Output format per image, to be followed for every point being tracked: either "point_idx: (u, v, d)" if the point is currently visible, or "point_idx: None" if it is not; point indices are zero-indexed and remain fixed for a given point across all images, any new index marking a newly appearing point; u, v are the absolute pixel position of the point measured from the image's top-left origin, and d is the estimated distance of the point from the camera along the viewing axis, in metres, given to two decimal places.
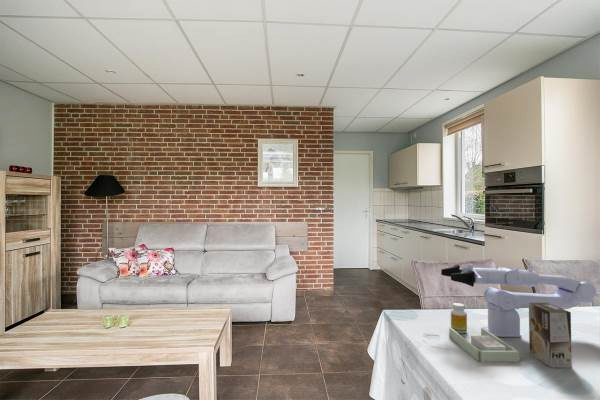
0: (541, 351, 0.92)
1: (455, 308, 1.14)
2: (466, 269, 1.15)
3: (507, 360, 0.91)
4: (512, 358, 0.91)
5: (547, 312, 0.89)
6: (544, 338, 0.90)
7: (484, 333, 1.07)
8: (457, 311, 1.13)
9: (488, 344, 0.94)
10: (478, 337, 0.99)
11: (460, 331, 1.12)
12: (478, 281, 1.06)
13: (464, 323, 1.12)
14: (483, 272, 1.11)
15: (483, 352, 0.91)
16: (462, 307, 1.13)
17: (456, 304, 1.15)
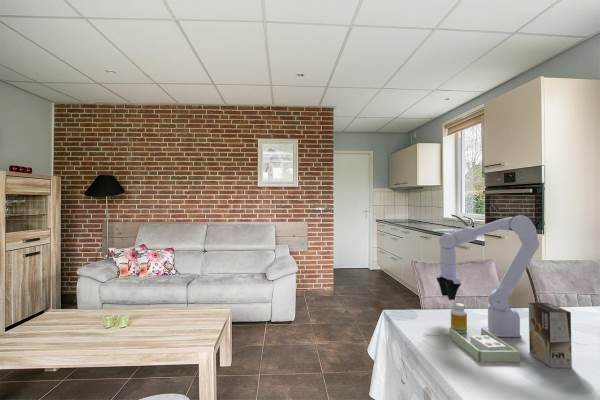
0: (541, 351, 0.92)
1: (455, 308, 1.14)
2: None
3: (507, 360, 0.91)
4: (512, 358, 0.91)
5: (547, 312, 0.89)
6: (544, 338, 0.90)
7: (484, 333, 1.07)
8: (457, 311, 1.13)
9: (489, 344, 0.94)
10: (478, 337, 0.98)
11: (460, 331, 1.12)
12: (458, 282, 1.15)
13: (464, 323, 1.12)
14: (446, 267, 1.21)
15: (483, 352, 0.91)
16: (462, 307, 1.13)
17: (456, 304, 1.15)
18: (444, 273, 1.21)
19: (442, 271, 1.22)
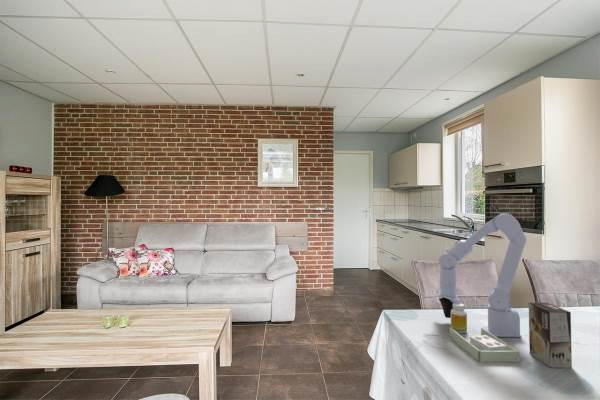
0: (541, 351, 0.92)
1: (455, 308, 1.14)
2: None
3: (507, 360, 0.91)
4: (512, 358, 0.91)
5: (547, 312, 0.89)
6: (544, 338, 0.90)
7: (484, 333, 1.07)
8: (457, 311, 1.13)
9: (490, 344, 0.94)
10: (478, 338, 0.98)
11: (460, 331, 1.12)
12: (458, 303, 1.15)
13: (464, 323, 1.12)
14: (446, 287, 1.20)
15: (483, 352, 0.91)
16: (462, 307, 1.13)
17: (456, 304, 1.15)
18: (444, 293, 1.21)
19: (442, 291, 1.22)
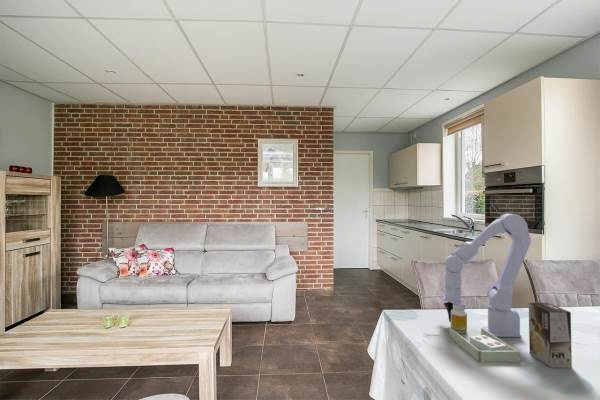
0: (541, 351, 0.92)
1: (455, 308, 1.13)
2: None
3: (507, 360, 0.91)
4: (512, 358, 0.91)
5: (547, 312, 0.89)
6: (544, 338, 0.90)
7: (484, 333, 1.07)
8: (457, 311, 1.12)
9: (492, 344, 0.94)
10: (478, 338, 0.98)
11: (460, 331, 1.12)
12: (463, 308, 1.11)
13: (464, 323, 1.12)
14: (451, 291, 1.16)
15: (483, 352, 0.91)
16: None
17: None
18: (449, 297, 1.17)
19: (447, 295, 1.18)
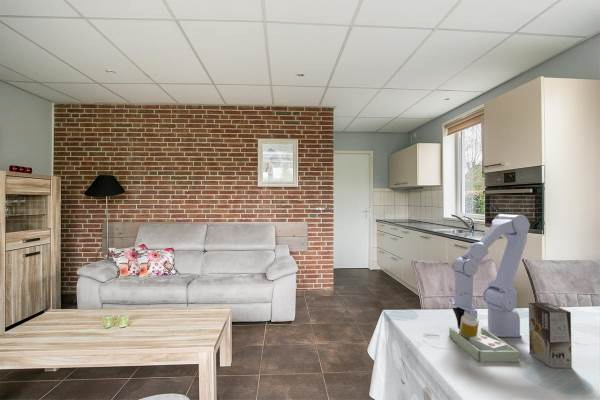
0: (541, 351, 0.92)
1: (467, 317, 1.04)
2: None
3: (507, 360, 0.91)
4: (512, 358, 0.91)
5: (547, 312, 0.89)
6: (544, 338, 0.90)
7: (484, 333, 1.07)
8: (469, 321, 1.04)
9: (493, 345, 0.93)
10: (478, 338, 0.98)
11: None
12: (475, 315, 1.03)
13: (475, 332, 1.04)
14: (461, 296, 1.08)
15: (483, 352, 0.91)
16: (475, 317, 1.03)
17: (468, 312, 1.05)
18: (459, 302, 1.08)
19: (457, 300, 1.09)
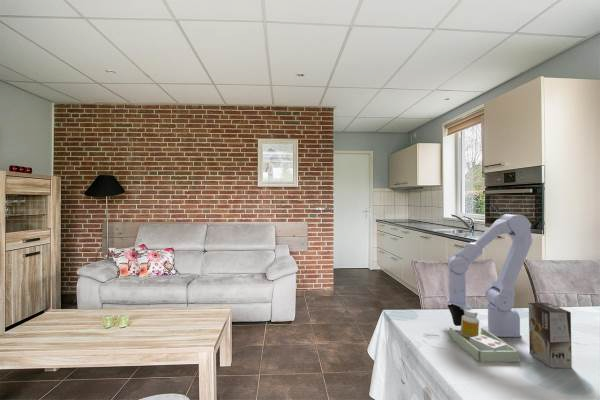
0: (541, 351, 0.92)
1: (467, 314, 1.06)
2: None
3: (507, 360, 0.91)
4: (512, 358, 0.91)
5: (547, 312, 0.89)
6: (544, 338, 0.90)
7: (484, 333, 1.07)
8: (469, 318, 1.05)
9: (493, 345, 0.93)
10: (478, 338, 0.98)
11: None
12: None
13: (476, 331, 1.04)
14: (455, 293, 1.13)
15: (483, 352, 0.91)
16: (475, 314, 1.05)
17: (468, 310, 1.07)
18: (453, 300, 1.14)
19: (451, 297, 1.15)
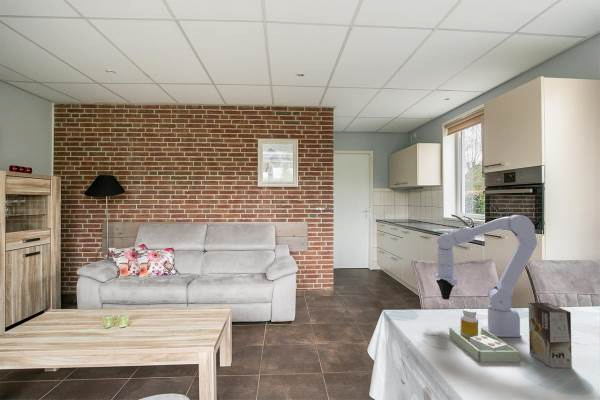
0: (541, 351, 0.92)
1: (466, 314, 1.07)
2: None
3: (507, 360, 0.91)
4: (512, 358, 0.91)
5: (547, 312, 0.89)
6: (544, 338, 0.90)
7: (484, 333, 1.07)
8: (468, 317, 1.06)
9: (493, 345, 0.93)
10: (478, 338, 0.98)
11: None
12: (455, 283, 1.13)
13: (475, 331, 1.05)
14: (443, 268, 1.19)
15: (483, 352, 0.91)
16: (473, 313, 1.06)
17: (467, 310, 1.08)
18: (441, 274, 1.19)
19: (439, 272, 1.20)
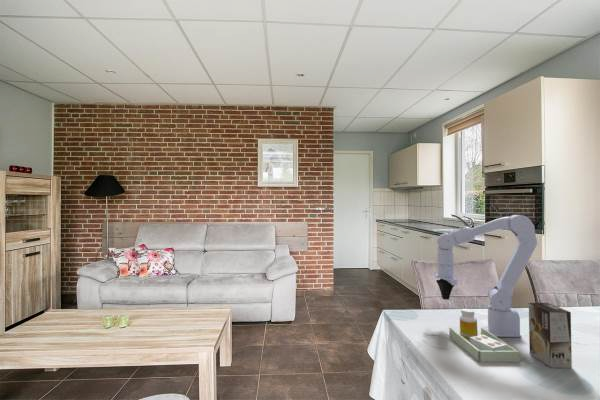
0: (541, 351, 0.92)
1: (464, 314, 1.07)
2: None
3: (507, 360, 0.91)
4: (512, 358, 0.91)
5: (547, 312, 0.89)
6: (544, 338, 0.90)
7: (484, 333, 1.07)
8: (466, 317, 1.06)
9: (492, 345, 0.93)
10: (478, 338, 0.98)
11: (469, 339, 1.05)
12: (455, 283, 1.13)
13: (474, 330, 1.05)
14: (443, 268, 1.19)
15: (483, 352, 0.91)
16: (471, 313, 1.06)
17: (465, 310, 1.08)
18: (441, 274, 1.19)
19: (439, 272, 1.20)
